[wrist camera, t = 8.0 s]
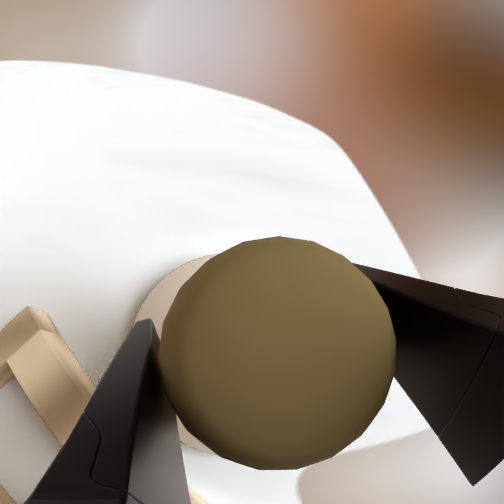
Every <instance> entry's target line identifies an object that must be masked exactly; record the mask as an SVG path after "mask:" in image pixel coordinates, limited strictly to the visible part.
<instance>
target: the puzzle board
mask: <svg viewBox="0 0 504 504" xmlns="http://www.w3.org/2000/svg"><path fill="white" fill-rule="evenodd" d="M14 375H15V377H16V379H17V380H18V382H19V384H20V385H21V387H22V389H23V390H24V392H25V394H26V395H27V397H28V398H29V400H30V402H31V403H32V405H33V406H34V408H35V409H36V411H37V412H38V414H39V415H40V417H41V418H42V419H43V421H44V422H45V424H46V425H47V426H48V428H49V429H50V431H51V432H52V433H53V435H54V436H55V437H56V439H57V440H58V441H59V442H60V444H61V445H62V446H63V445H64V444H65V442H66V440H67V439H68V437H69V435H70V433H71V432H72V430H73V428H74V427H75V425H76V423H77V421H78V419H79V418H80V416H81V414H82V413H83V412H84V409H85V407H86V405H87V403H88V402H89V400H90V398H91V396H92V395H93V393H94V391H95V389H96V387H95V385H94V384H93V382H92V381H91V380H90V378H89V377H88V376H87V374H86V373H85V371H84V370H83V369H82V367H81V366H80V364H79V363H78V361H77V360H76V359H75V357H74V356H73V354H72V353H71V351H70V350H69V348H68V347H67V345H66V343H65V342H64V340H63V339H62V337H61V336H60V334H59V332H58V331H57V329H56V327H55V326H54V324H53V322H52V321H51V319H50V317H49V315H48V314H47V313H44V312H41V311H39V310H36V309H34V308H31V307H29V306H27V307H26V308H25V309H24V310H22V311H21V312H20V313H19V314H18V315H17V316H16V317H15V318H14V319H13V320H12V321H11V322H10V323H9V324H8V325H7V326H6V327H5V328H4V329H3V330H2V331H1V332H0V389H1V388H2V387H3V386H4V385H5V384H6V383H7V382H8V381H9V380H10V379H11V378H12V377H13V376H14ZM84 413H85V412H84ZM188 491H189V496H190V501H191V504H208V503H207V502H206V501H204V500H203V499H202V498H201V497H200V496H198V495H197V494H196V493H195V492H194V491H192V490H191V489H190V488H189V487H188ZM0 504H15V502H14V501H13V500H12V499H11V498H10V496H9V495H8V494H7V493H6V491H5V490H4V489H3V487H2V486H1V485H0Z"/></svg>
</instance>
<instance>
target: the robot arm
mask: <svg viewBox="0 0 504 504" xmlns="http://www.w3.org/2000/svg"><path fill="white" fill-rule="evenodd" d="M352 264H353V265H354V266H356V267H357V268H358V269H359V270H360V271H361V272H362V273H363V274H364V275H365V276H366V277H367V278H369V279H370V280H371V281H372V283H373V284H374V286H375V288H376V289H377V291H378V293H379V294H380V296H381V298H382V300H383V301H384V303H385V305H386V306H387V308H388V311H389V315H390V318H391V322H392V326H393V330H394V334H395V338H396V356H395V373H394V378H395V379H396V380H397V382H398V383H399V384H400V386H401V387H402V388H403V390H404V391H405V392H406V394H407V395H408V396H409V398H410V399H411V400H412V402H413V403H414V405H415V406H416V407H417V409H418V410H419V411H420V413H421V414H422V415H423V417H424V418H425V420H426V421H427V422H428V424H429V425H430V426H431V428H432V429H433V431H434V432H435V433H436V435H437V436H439V437H438V438H439V439H440V441H441V442H442V444H443V445H444V446H445V448H446V449H447V450H448V452H449V453H450V455H451V456H452V458H453V459H454V460H455V462H456V463H457V465H458V466H459V468H460V469H461V471H462V472H463V474H464V475H465V477H466V478H467V480H468V481H469V482H470V484H471V485H472V486H474V485H475V484H477V483H478V482H479V481H480V480H481V479H482V478H484V477H485V476H486V475H487V474H488V473H489V472H490V471H491V470H493V469H494V468H495V467H496V466H497V465H498V464H499V463H500V462H501V461H502V460H503V459H504V298H498V297H493V296H488V295H483V294H478V293H474V292H470V291H466V290H462V289H458V288H455V289H454V288H453V287H449V286H445V285H441V284H437V283H433V282H429V281H425V280H421V279H417V278H413V277H409V276H404V275H400V274H396V273H392V272H388V271H384V270H380V269H375V268H371V267H367V266H363V265H359V264H354V263H352ZM159 348H160V339H159V337H158V334H157V331H156V328H155V326H154V323H153V321H152V319H150V318H148V319H144V320H139V321H137V322H136V323H135V324H134V326H133V327H132V329H131V331H130V332H129V334H128V336H127V337H126V339H125V340H124V342H123V344H122V345H121V347H120V349H119V350H118V352H117V354H116V355H115V357H114V359H113V360H112V362H111V364H110V365H109V367H108V369H107V370H106V372H105V374H104V375H103V377H102V379H101V381H100V382H99V384H98V386H97V388H96V389H95V391H94V393H93V395H92V396H91V398H90V400H89V402H88V403H87V405H86V407H85V409H84V412H85V413H84V412H83V413H82V414H81V416H80V418H79V419H78V421H77V423H76V425H75V427H74V428H73V430H72V432H71V433H70V435H69V437H68V439H67V440H66V442H65V444H64V445H63V447H62V448H61V450H60V451H59V453H58V454H57V456H56V458H55V459H54V461H53V462H52V464H51V465H50V467H49V468H48V470H47V471H46V473H45V474H44V476H43V477H42V479H41V480H40V482H39V483H38V485H37V486H36V488H35V489H34V491H33V493H32V494H31V495H30V497H29V498H28V499H27V500H26V502H25V503H24V504H191V501H190V496H189V491H188V486H187V480H186V475H185V469H184V464H183V458H182V452H181V445H180V439H179V432H178V425H177V418H176V413H175V411H174V410H173V408H172V407H171V405H170V403H169V402H168V400H167V398H166V394H165V390H164V386H163V381H162V377H161V372H160V367H159V362H158V357H159Z"/></svg>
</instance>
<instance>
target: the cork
mask: <svg viewBox="0 0 504 504" xmlns="http://www.w3.org/2000/svg"><path fill="white" fill-rule="evenodd" d="M395 356H396V338H395V334H394V330H393V326H392V322H391V318H390V315H389V311H388V308H387V306H386V305H385V303H384V301H383V300H382V298H381V296H380V294H379V293H378V291H377V289H376V288H375V286H374V284H373V283H372V281H371V280H370V279H369V278H367V277H366V276H365V275H364V274H363V273H362V272H361V271H360V270H359V269H358V268H357V267H356V266H354V265H353V264H352V263H351V262H350V261H349V260H348V259H347V258H346V257H344V256H343V255H340V254H338V253H336V252H334V251H332V250H330V249H328V248H326V247H324V246H322V245H320V244H318V243H315V242H313V241H307V240H300V239H294V238H287V237H280V236H277V237H271V238H264V239H258V240H252V241H246V242H242V243H240V244H238V245H236V246H234V247H232V248H230V249H228V250H226V251H224V252H222V253H220V254H218V255H216V256H214V257H212V258H210V259H209V260H208V261H206V262H205V263H204V264H203V265H202V266H201V267H200V268H199V269H198V270H197V271H196V272H195V273H194V274H193V275H192V276H191V277H190V278H189V279H188V280H187V281H186V282H185V283H184V284H183V285H182V286H181V287H180V289H179V291H178V293H177V295H176V297H175V299H174V301H173V303H172V305H171V307H170V309H169V311H168V313H167V315H166V317H165V319H164V321H163V325H162V333H161V340H160V348H159V357H158V362H159V367H160V372H161V377H162V381H163V386H164V390H165V394H166V398H167V400H168V402H169V403H170V405H171V407H172V408H173V410H174V411H175V413H176V415H177V416H178V418H179V419H180V421H181V422H182V424H183V426H184V427H185V429H186V430H187V431H188V432H189V433H190V434H191V435H193V436H194V437H195V438H196V439H198V440H199V441H200V442H201V443H203V444H204V445H205V446H206V447H208V448H209V449H210V450H212V451H213V452H214V453H216V454H217V455H219V456H220V457H222V458H225V459H227V460H230V461H233V462H236V463H239V464H242V465H245V466H248V467H251V468H255V469H258V470H293V469H299V468H303V467H306V466H309V465H312V464H315V463H318V462H320V461H323V460H326V459H329V458H331V457H333V456H334V455H336V454H337V453H339V452H340V451H341V450H343V449H344V448H345V447H347V446H348V445H349V444H351V443H352V442H353V441H355V440H356V439H357V438H359V437H360V436H361V435H362V434H363V433H364V431H365V430H366V429H367V427H368V426H369V425H370V423H371V422H372V421H373V419H374V418H375V416H376V415H377V414H378V412H379V411H380V409H381V408H382V406H383V405H384V403H385V400H386V397H387V394H388V392H389V389H390V386H391V383H392V380H393V377H394V373H395Z"/></svg>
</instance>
